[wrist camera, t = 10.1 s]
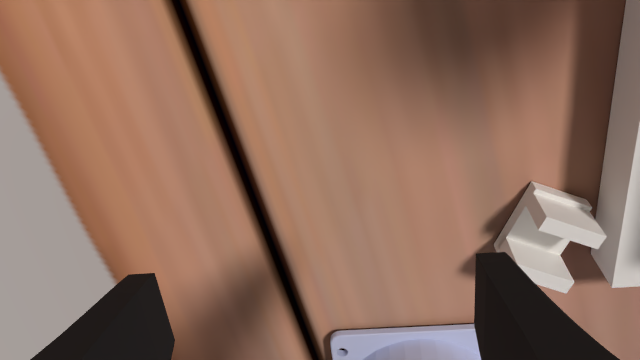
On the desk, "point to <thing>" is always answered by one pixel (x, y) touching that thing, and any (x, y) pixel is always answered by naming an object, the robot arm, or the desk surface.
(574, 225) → the clip
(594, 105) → the desk surface
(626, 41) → the tray
